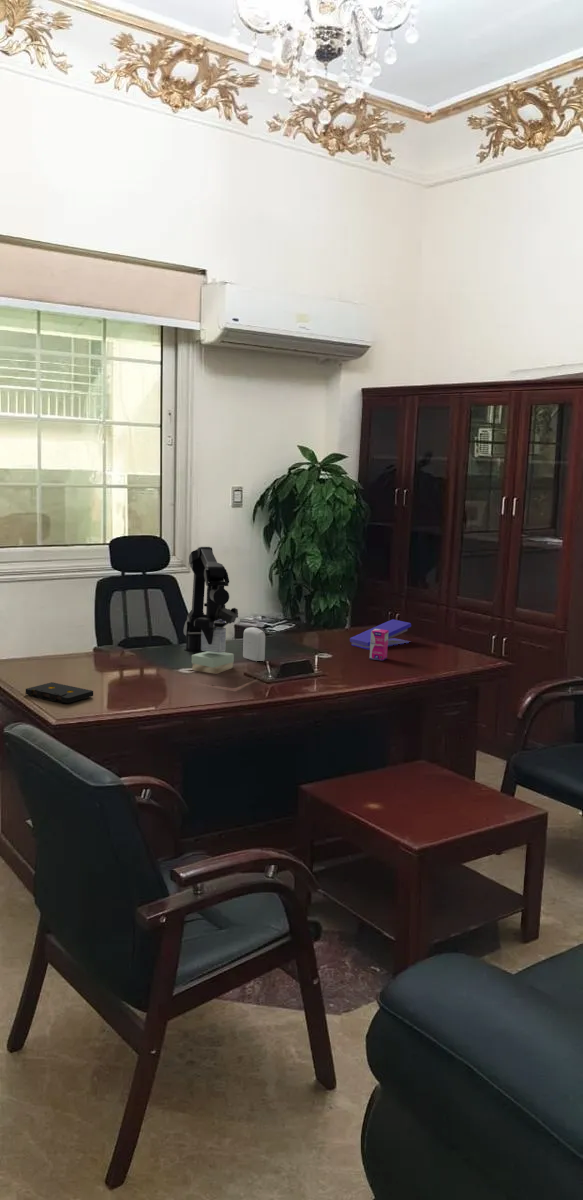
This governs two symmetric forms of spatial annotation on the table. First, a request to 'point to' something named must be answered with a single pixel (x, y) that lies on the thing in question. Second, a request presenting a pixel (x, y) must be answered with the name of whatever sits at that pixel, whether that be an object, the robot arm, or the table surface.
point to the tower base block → (211, 669)
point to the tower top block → (212, 658)
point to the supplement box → (379, 644)
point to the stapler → (392, 625)
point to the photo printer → (254, 644)
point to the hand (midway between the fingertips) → (213, 643)
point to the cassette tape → (59, 692)
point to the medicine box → (215, 641)
